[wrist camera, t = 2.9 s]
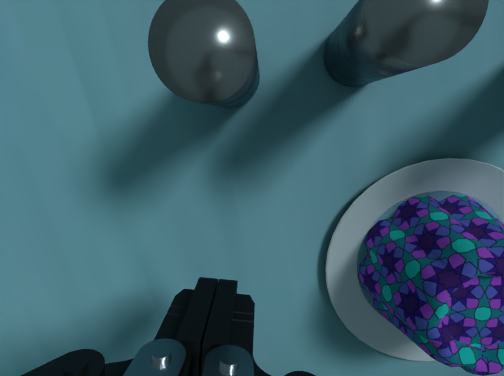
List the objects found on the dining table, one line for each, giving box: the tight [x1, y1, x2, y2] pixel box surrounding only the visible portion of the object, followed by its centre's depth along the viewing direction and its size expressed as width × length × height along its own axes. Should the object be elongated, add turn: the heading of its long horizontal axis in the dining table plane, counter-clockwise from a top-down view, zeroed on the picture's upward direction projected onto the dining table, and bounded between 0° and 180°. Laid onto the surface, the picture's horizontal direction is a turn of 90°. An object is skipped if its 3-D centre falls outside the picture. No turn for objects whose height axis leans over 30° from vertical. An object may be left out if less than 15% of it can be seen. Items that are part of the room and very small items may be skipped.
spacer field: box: [148, 0, 489, 107], centre depth 14 cm, size 27×25×7 cm
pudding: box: [325, 158, 504, 375], centre depth 15 cm, size 12×12×5 cm
